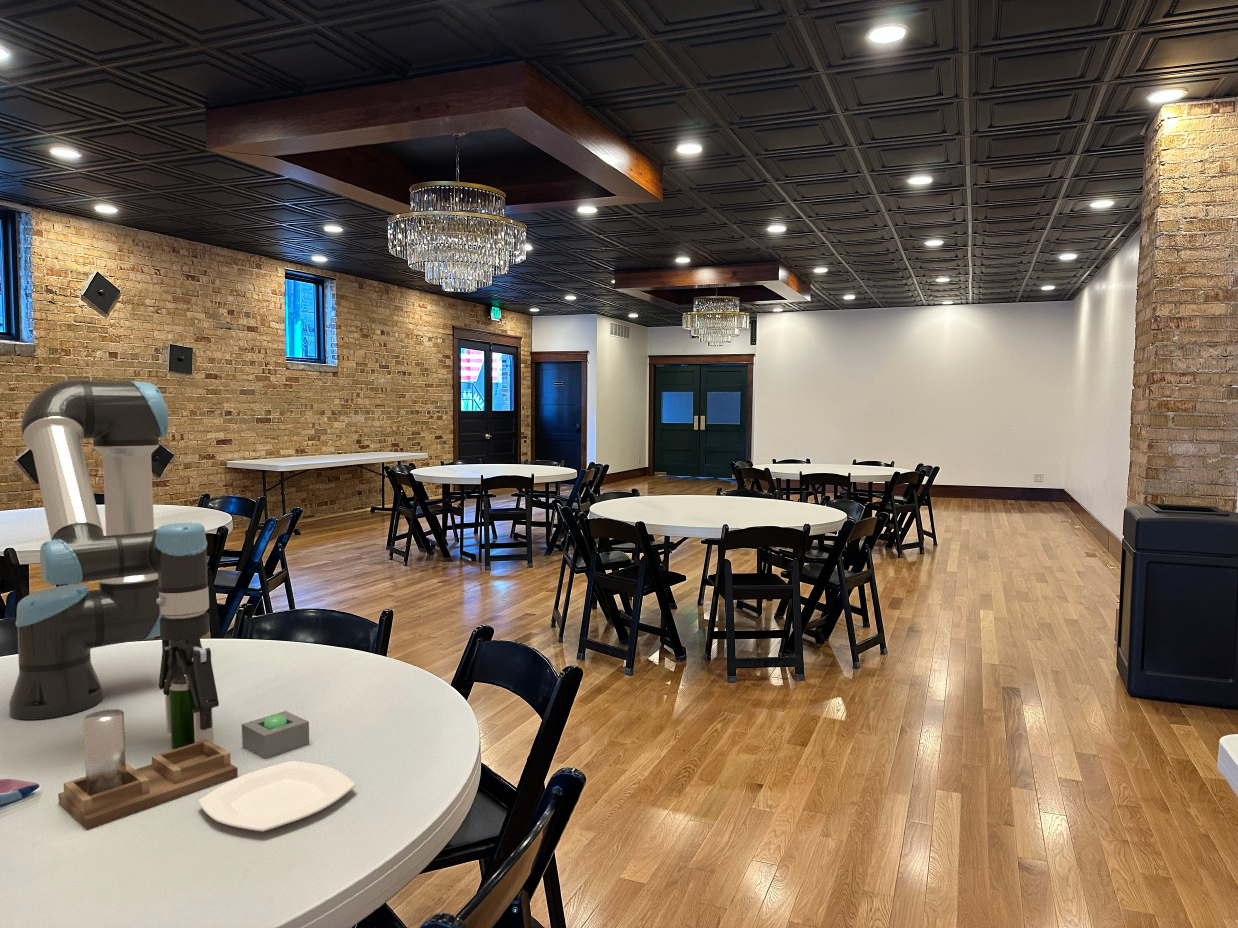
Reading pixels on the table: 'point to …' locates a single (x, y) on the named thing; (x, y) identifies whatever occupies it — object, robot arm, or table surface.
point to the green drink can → (181, 713)
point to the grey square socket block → (275, 736)
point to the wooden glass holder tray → (150, 784)
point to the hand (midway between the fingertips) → (189, 738)
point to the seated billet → (104, 750)
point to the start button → (275, 721)
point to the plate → (276, 795)
